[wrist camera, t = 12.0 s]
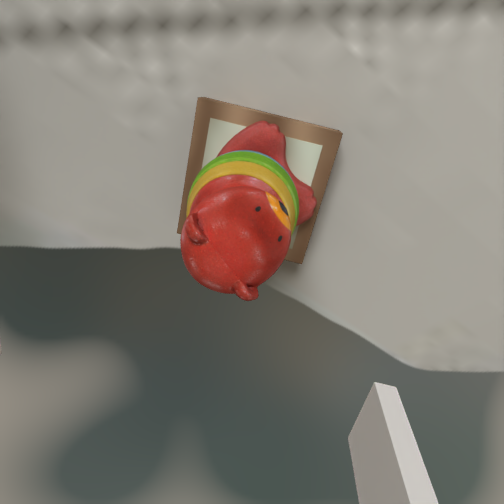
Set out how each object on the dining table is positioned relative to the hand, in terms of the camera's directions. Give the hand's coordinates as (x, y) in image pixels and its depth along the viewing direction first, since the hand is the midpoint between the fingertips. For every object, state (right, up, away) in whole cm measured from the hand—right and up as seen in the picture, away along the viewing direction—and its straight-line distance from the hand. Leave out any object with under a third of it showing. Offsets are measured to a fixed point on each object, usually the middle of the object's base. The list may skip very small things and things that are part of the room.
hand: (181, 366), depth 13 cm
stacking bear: (+3, +11, +25) cm, 27 cm away
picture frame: (+3, +12, +28) cm, 30 cm away
